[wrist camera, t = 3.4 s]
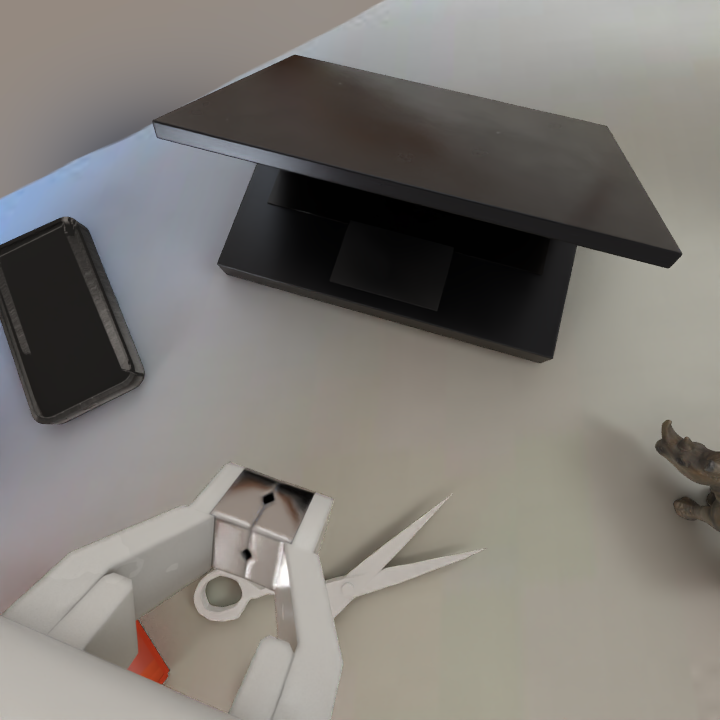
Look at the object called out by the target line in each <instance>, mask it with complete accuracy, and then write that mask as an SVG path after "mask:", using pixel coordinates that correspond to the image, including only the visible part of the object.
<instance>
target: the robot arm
mask: <svg viewBox="0 0 720 720" xmlns="http://www.w3.org/2000/svg"><path fill="white" fill-rule="evenodd" d="M333 503H334V498H332V497H329V496H326V495H323V494H320V493H317V492H315V491H312V490H309V489H306V488H303V487H300V486H297V485H294V484H291V483H288V482H285V481H282V480H281V481H280V480H278V479H275V478H273V477H270V476H267V475H265V474H262V473H259V472H257V471H254V470H252V469H249V468H246V467H243V466H240V465H238V464H235V463H232V462H229V463H227V464H225V465H224V466H223V467H222V468H221V469H220V471H219V472H218V473H217V474H216V475H215V476H214V478H213V479H212V480H211V481H210V482H209V483H208V484H207V486H206V487H205V488H204V489H203V490H202V491H201V493H200V494H199V495H198V496H197V497H196V498H195V499H194V501H193V502H192V503H191V504H190V505H189V506H186V505H181V506H179V507H176V508H174V509H171V510H169V511H167V512H164V513H162V514H160V515H157V516H155V517H152V518H150V519H148V520H145V521H143V522H141V523H138V524H136V525H133V526H131V527H129V528H126V529H124V530H121V531H119V532H117V533H114V534H112V535H110V536H107V537H105V538H102V539H100V540H98V541H95V542H93V543H90V544H88V545H86V546H83V547H81V548H79V549H76V550H74V551H71V552H70V553H68V554H67V555H66V556H65V557H64V558H63V559H62V560H61V561H60V562H59V563H57V564H56V565H55V566H54V567H53V568H52V569H51V570H50V571H49V572H48V573H46V574H45V575H44V576H43V577H42V578H41V579H40V580H39V581H38V582H37V583H35V584H34V585H33V586H32V587H31V588H30V589H29V590H28V591H27V592H26V593H24V594H23V595H22V596H21V597H20V598H19V599H18V600H17V601H16V602H15V603H13V604H12V605H11V606H10V607H9V608H8V609H7V610H6V611H5V612H4V613H2V614H1V615H0V720H331V717H332V712H333V708H334V703H335V699H336V694H337V690H338V685H339V681H340V676H341V672H342V667H343V659H342V654H341V650H340V645H339V641H338V636H337V632H336V628H335V623H334V619H333V614H332V610H331V606H330V601H329V597H328V592H327V588H326V584H325V579H324V575H323V570H322V566H321V561H320V557H319V555H318V554H319V551H320V548H321V545H322V542H323V538H324V535H325V532H326V529H327V525H328V521H329V518H330V514H331V510H332V507H333ZM211 567H212V568H215V569H218V570H221V571H223V572H226V573H229V574H232V575H235V576H238V577H241V578H243V579H246V580H248V581H251V582H253V583H255V584H258V585H260V586H262V587H265V588H267V589H269V590H272V591H274V592H275V609H276V623H277V638H276V637H273V636H271V635H269V636H267V637H265V638H263V639H261V640H260V643H259V645H258V647H257V649H256V652H255V654H254V656H253V658H252V661H251V663H250V665H249V667H248V670H247V672H246V674H245V676H244V679H243V681H242V683H241V685H240V688H239V690H238V692H237V694H236V697H235V699H234V701H233V704H232V706H231V708H230V710H229V713H226V712H224V711H222V710H219V709H217V708H215V707H212V706H210V705H208V704H206V703H203V702H201V701H199V700H196V699H194V698H192V697H189V696H187V695H185V694H182V693H180V692H178V691H176V690H173V689H171V688H169V687H166V686H164V685H162V684H159V683H157V682H155V681H152V680H150V679H148V678H145V677H143V676H141V675H139V674H136V673H134V672H132V671H129V670H127V669H128V667H129V666H130V665H131V663H132V662H133V660H134V659H135V657H136V656H137V654H138V640H137V629H136V620H138V619H139V618H141V617H142V616H144V615H145V614H147V613H148V612H149V611H151V610H152V609H154V608H155V607H157V606H158V605H160V604H161V603H163V602H164V601H166V600H167V599H169V598H170V597H171V596H173V595H174V594H176V593H177V592H179V591H180V590H182V589H183V588H185V587H186V586H188V585H189V584H191V583H192V582H194V581H195V580H196V579H198V578H199V577H201V576H202V575H204V574H205V573H207V572H208V571H210V570H211Z"/></svg>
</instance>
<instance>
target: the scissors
mask: <svg viewBox="0 0 720 720" xmlns="http://www.w3.org/2000/svg"><path fill="white" fill-rule="evenodd" d="M452 494H453V493H452ZM452 494H451V495H452ZM451 495H450V496H451ZM450 496H448V497H447V498H446V499H444V500H443V501H442V502H440V503H439V504H438V505H436V506H435V507H433V508H432V509H431V510H429V511H428V512H427V513H425V514H424V515H423V516H421V517H420V518H419V519H417V520H416V521H415V522H413V523H412V524H411V525H409V526H408V527H407V528H405V529H404V530H402V531H401V532H400V533H398V534H397V535H396V536H394V537H393V538H392V539H390V540H389V541H388V542H386V543H385V544H384V545H383V546H381V547H380V548H379V549H377V550H376V551H375V552H374V553H372V554H371V555H370V556H369V557H367V558H366V559H365V560H364V561H362V562H361V563H360V564H359V565H357V566H356V567H355V568H354V569H352V570H351V571H350V572H349V573H348V574H346V575H345V576H339V577H335V578H331V579H328V580H325V584H326V588H327V592H328V597H329V601H330V606H331V610H332V614H333V618H335V617H336V616H337V615H338V614H339V613H340V612H341V611H342V610H343V609H344V608H345V607H346V606H347V605H348V604H349V603H350V602H351V601H352V600H353V599H354V598H355V597H358V596H361V595H364V594H367V593H370V592H373V591H376V590H380V589H383V588H386V587H389V586H392V585H395V584H398V583H401V582H404V581H406V580H409V579H412V578H415V577H417V576H420V575H423V574H425V573H428V572H430V571H433V570H435V569H438V568H440V567H443V566H446V565H448V564H451V563H454V562H457V561H459V560H462V559H465V558H467V557H469V556H471V555H474V554H476V553H478V552H480V551H482V550H485V549H487V548H485V549H480V550H474V551H469V552H464V553H459V554H454V555H449V556H443V557H438V558H433V559H429V560H424V561H420V562H416V563H411V564H405V565H399V566H394V567H388V568H385V569H382V568H383V567H384V566H385V565H386V564H387V563H388V562H389V561H390V560H391V559H392V558H393V557H394V556H395V555H396V554H397V553H398V552H399V551H400V550H401V549H402V548H403V547H404V546H405V545H406V543H407V542H408V541H409V540H410V539H411V538H412V537H413V536H414V535H415V534H416V533H417V532H418V531H419V529H420V528H421V527H422V526H423V525H424V524H425V523H426V522H427V521H428V520H429V519H430V518H431V516H432V515H433V514H434V513H435V512H436V511H437V510H438V509H439V508H440V507H441V506H442V505H443V503H444V502H445V501H446V500H447V499H448V498H449V497H450ZM381 569H382V570H381ZM220 575H221V576H225V577H228V578H232V579H234V580H236V581H237V582H238V583H239V585H240V587H241V589H242V598H241V599H240V601H239V602H238V603H235V604H232V605H229V606H226V607H217V606H212V605H211V604H209V602H208V599H207V597H206V592H205V589H206V585H207V583H208V582H209V581H210V580H212V579H214V578H216V577H218V576H220ZM266 594H273V595H275V592H274V591H272V590H269V589H267V588H265V587H262V586H260V585H258V584H255V583H253V582H251V581H248V580H246V579H243V578H241V577H238V576H235V575H232V574H229V573H226V572H223V571H221V570H218V569H215V570H213V571H211V572H210V573H208V574H207V575H206V576H205V577H204V578H203V579H202V580H201V581H200V582H199V584H198V586H197V588H196V590H195V594H194V604H195V606H196V608H197V610H198V612H199V613H200V614H201V615H203V616H204V617H205V618H207V619H208V620H212V621H229V620H233V619H238V618H239V616H240V615H241V613H242V612H243V610H244V608H245V607H246V605H247V604H248V602H249V600H250V599H251V598H252V599H257V598H259V597H261V596H264V595H266Z"/></svg>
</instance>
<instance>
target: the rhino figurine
mask: <svg viewBox="0 0 720 720" xmlns="http://www.w3.org/2000/svg"><path fill="white" fill-rule="evenodd" d="M671 423H672V421H670V420H666V421H665V422H664V423H663V424H662V439H661V440H659V441H658V442H657V443H656V445H655V448H656V450H657V451H658V453H660V454H661V455H662V456H664V457H665V458H666V459H667V460H668V461H669V462H671V463H672V464H673V465H674V466H675V467H676V468H677V469H678V470H679V471H680V472H681V473H682V474H683V475H684V476H686V477H687V478H689V479H690V480H692V481H694V482H696V483H699V484H703V485H708V486H710V490H711V494H709V495H708V496H707V501H708V503H709V505H710V506H700V505H698V504H697V503H696V502H695V501H693V500H692V499H690V498H688V497H683V498H682V499H681V500H676V501H675V502H674V507H675V510H676V513H677V514H678V515H679V516H682V517H684V518H685V519H688V520H696V519H699V520H702V521H704V522H706V523H708V524H709V525H710V526H712V527H713V528H715V529H716V530H718V531H719V532H720V452H715V451H712V450H710V449H707V448H706V447H705V446H704V445H703V444H701V443H697V442H692V441H691V440H690V438H689V437H685V438H684V439H683V438H682V437H680V436H679V435H678V434H677V433H676V432H675V431H674V429H673V428H672V426H671Z"/></svg>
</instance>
